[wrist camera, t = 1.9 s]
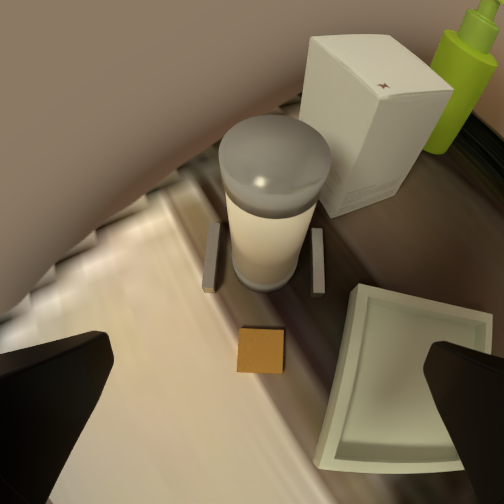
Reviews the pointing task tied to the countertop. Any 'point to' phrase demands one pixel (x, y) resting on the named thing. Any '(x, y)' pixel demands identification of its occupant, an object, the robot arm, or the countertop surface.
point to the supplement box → (369, 114)
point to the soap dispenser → (464, 70)
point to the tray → (393, 384)
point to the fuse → (271, 195)
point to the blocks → (262, 340)
